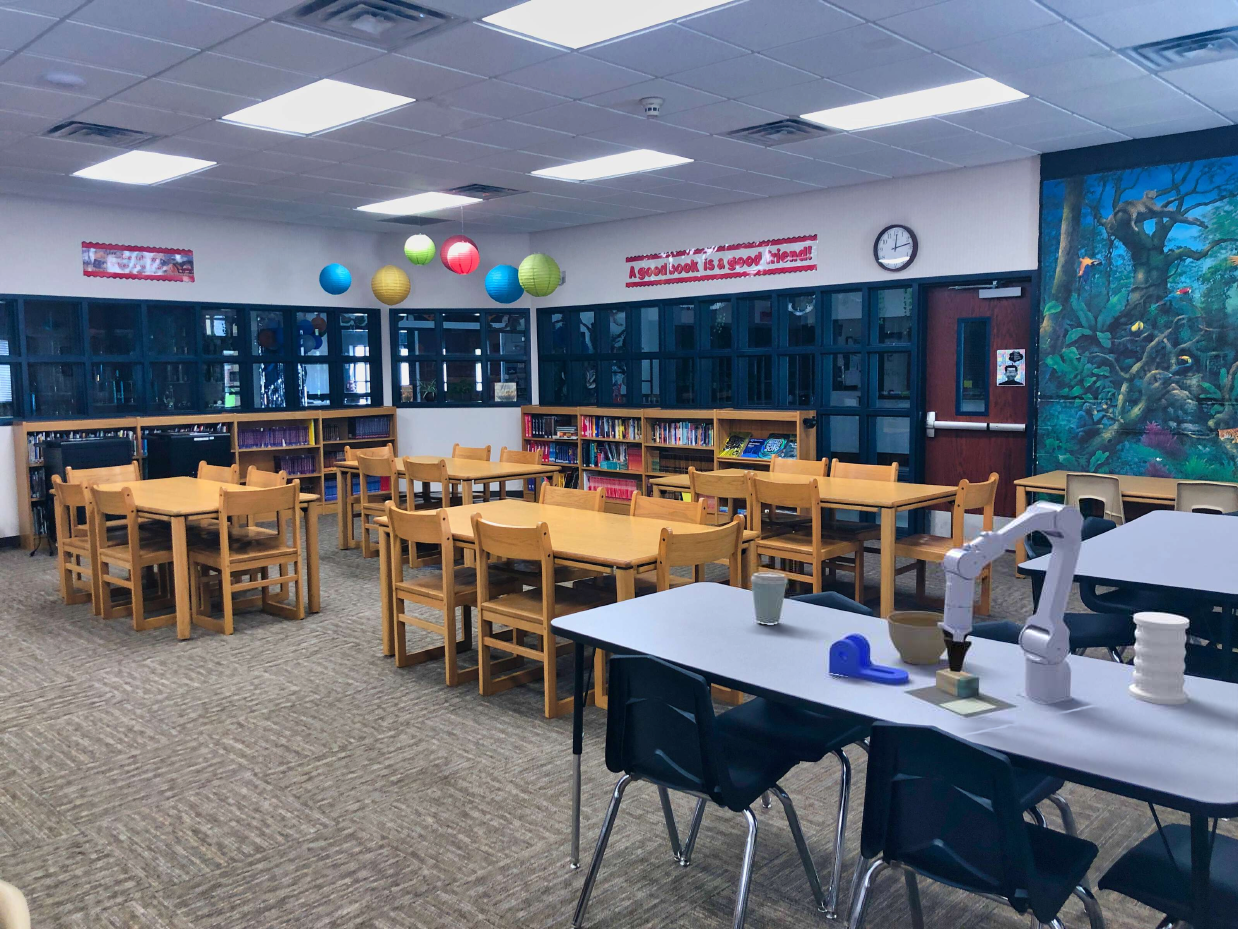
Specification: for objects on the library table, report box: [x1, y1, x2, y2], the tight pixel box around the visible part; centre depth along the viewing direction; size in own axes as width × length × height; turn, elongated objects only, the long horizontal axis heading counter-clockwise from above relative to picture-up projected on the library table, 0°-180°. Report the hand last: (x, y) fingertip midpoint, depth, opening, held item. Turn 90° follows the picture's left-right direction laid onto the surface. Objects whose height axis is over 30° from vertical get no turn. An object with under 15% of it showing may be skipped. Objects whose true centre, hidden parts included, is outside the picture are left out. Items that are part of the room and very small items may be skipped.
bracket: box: [828, 633, 910, 685], centre depth 232 cm, size 18×8×9 cm, turn 52°
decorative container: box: [1128, 611, 1190, 706], centre depth 216 cm, size 12×12×18 cm
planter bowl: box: [886, 610, 947, 665], centre depth 245 cm, size 16×16×11 cm
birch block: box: [935, 668, 980, 698], centre depth 220 cm, size 5×8×4 cm, turn 26°
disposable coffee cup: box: [750, 572, 788, 623], centre depth 284 cm, size 11×11×15 cm
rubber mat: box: [903, 684, 1018, 718], centre depth 215 cm, size 15×19×1 cm
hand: (954, 666), depth 209 cm, fingers open, 7 cm apart
